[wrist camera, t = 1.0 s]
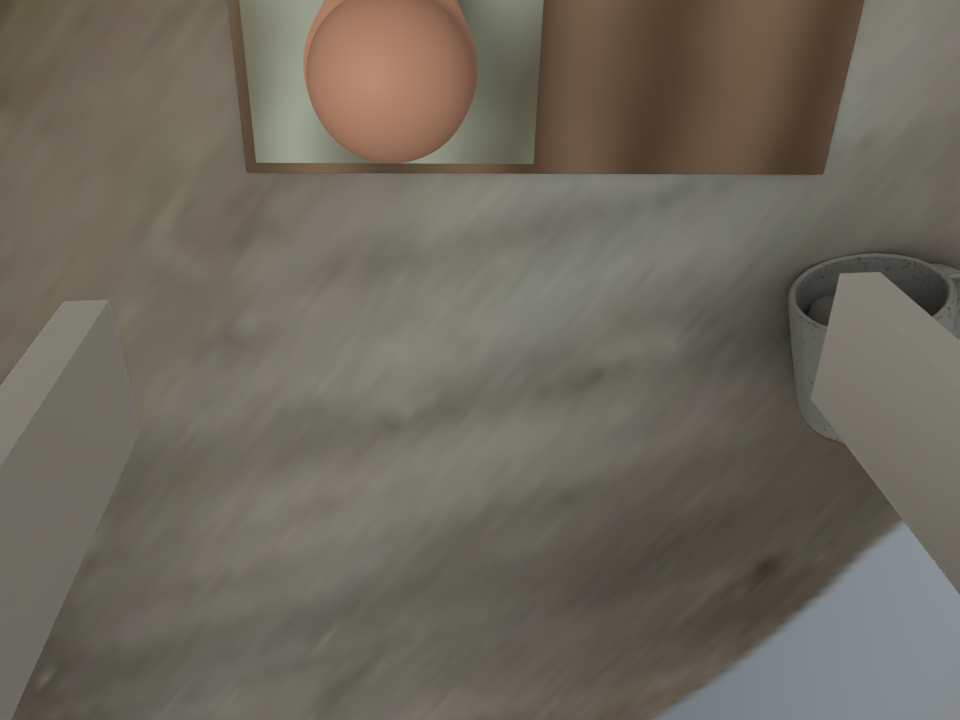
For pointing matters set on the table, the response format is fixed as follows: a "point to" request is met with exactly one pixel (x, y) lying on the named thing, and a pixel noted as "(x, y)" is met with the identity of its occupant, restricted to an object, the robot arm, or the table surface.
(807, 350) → the ceramic mug
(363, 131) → the pawn
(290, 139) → the game board
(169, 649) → the table surface
